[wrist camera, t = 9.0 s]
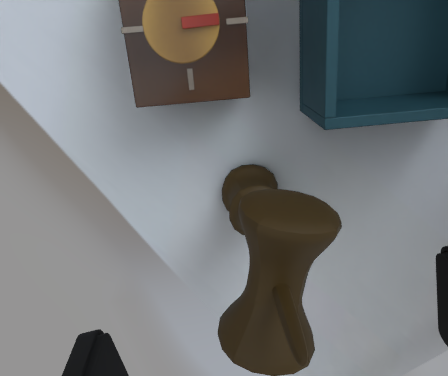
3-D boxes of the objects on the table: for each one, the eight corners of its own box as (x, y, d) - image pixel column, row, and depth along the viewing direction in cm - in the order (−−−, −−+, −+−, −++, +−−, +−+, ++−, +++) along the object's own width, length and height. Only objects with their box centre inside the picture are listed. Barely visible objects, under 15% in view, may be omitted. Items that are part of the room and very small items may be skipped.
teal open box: (298, -97, 27) (329, -137, 21) (474, -110, 27) (559, -155, 21) (299, 110, 33) (324, 130, 26) (445, 97, 33) (506, 113, 26)
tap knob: (159, 61, 26) (148, 68, 20) (148, -6, 24) (133, -17, 19) (219, 53, 26) (224, 59, 20) (211, -13, 24) (215, -26, 19)
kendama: (210, 233, 37) (222, 440, 18) (221, 134, 33) (250, 265, 14) (272, 237, 37) (345, 443, 19) (290, 140, 34) (401, 274, 15)
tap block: (122, -44, 28) (106, -61, 23) (235, -54, 28) (243, -71, 23) (144, 96, 31) (134, 108, 27) (244, 88, 32) (251, 97, 27)
